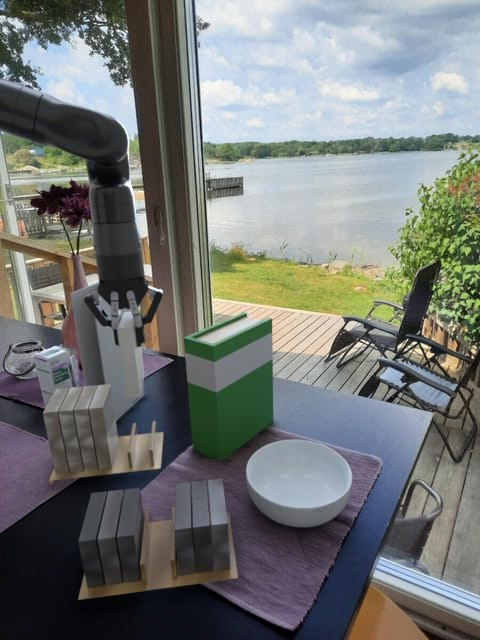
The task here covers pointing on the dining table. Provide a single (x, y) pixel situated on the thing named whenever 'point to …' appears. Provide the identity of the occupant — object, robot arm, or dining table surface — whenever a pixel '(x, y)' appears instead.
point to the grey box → (100, 351)
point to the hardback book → (229, 383)
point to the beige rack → (95, 436)
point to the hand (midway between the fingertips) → (130, 345)
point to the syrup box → (54, 371)
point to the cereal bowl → (298, 482)
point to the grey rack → (155, 542)
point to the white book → (130, 356)
